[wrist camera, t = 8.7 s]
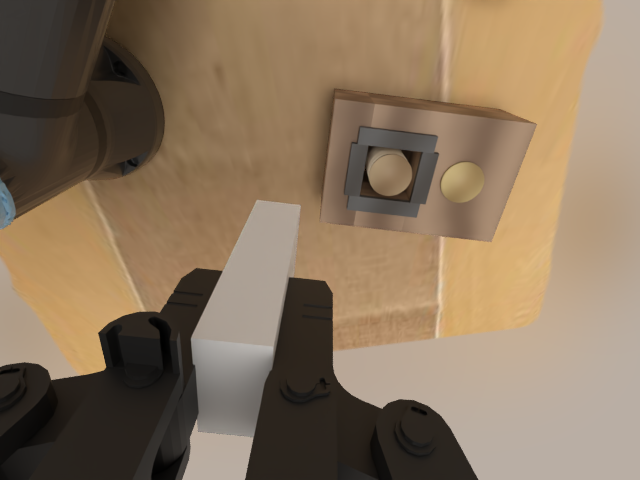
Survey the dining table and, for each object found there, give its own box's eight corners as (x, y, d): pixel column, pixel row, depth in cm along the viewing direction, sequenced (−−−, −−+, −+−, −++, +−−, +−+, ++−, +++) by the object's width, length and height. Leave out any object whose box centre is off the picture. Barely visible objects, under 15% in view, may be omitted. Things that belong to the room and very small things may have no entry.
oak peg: (359, 168, 42) (365, 193, 35) (365, 132, 40) (373, 152, 33) (394, 172, 42) (406, 198, 35) (401, 137, 40) (416, 157, 33)
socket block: (321, 193, 44) (319, 224, 37) (334, 88, 39) (335, 99, 31) (466, 210, 45) (493, 244, 37) (500, 109, 39) (540, 125, 32)
